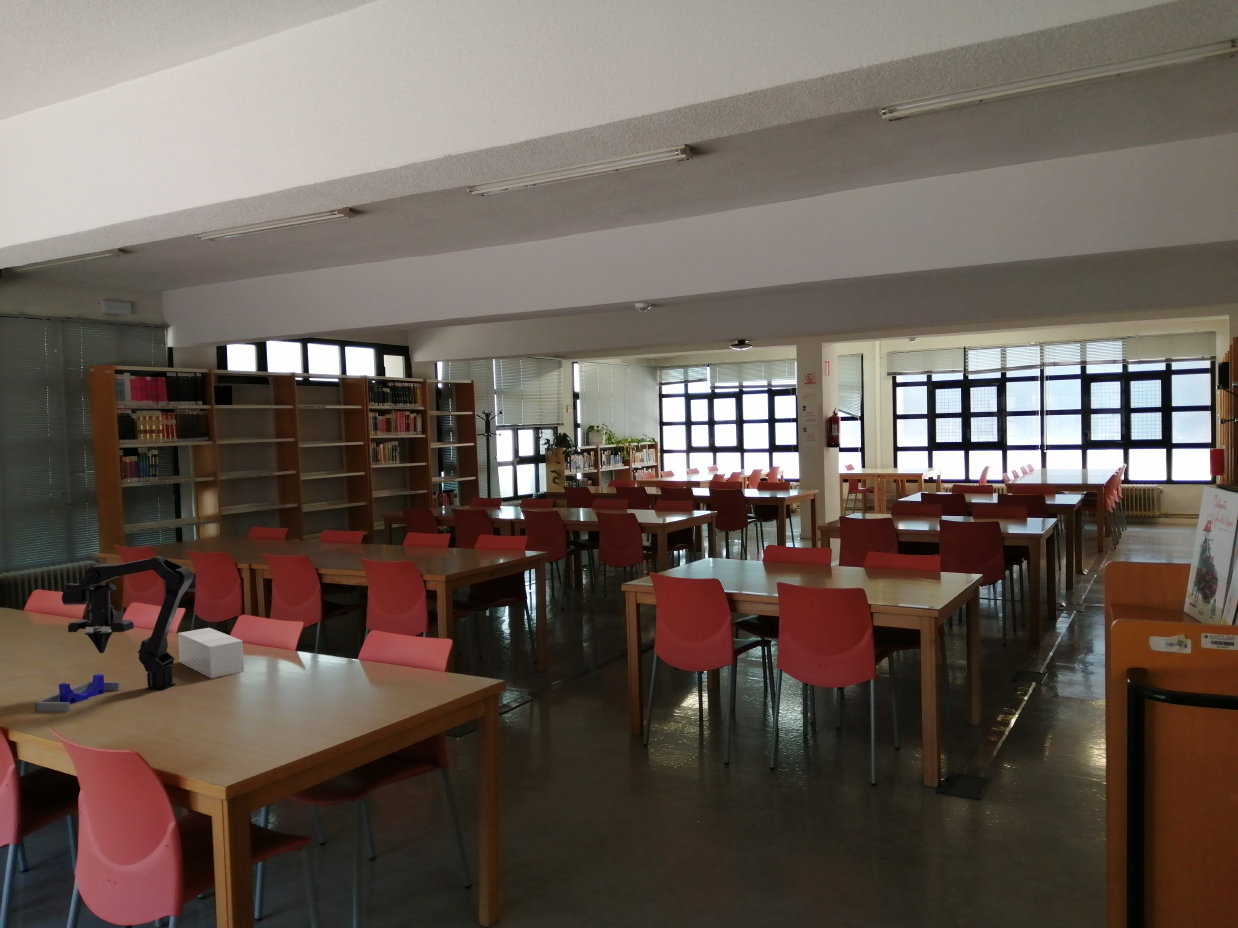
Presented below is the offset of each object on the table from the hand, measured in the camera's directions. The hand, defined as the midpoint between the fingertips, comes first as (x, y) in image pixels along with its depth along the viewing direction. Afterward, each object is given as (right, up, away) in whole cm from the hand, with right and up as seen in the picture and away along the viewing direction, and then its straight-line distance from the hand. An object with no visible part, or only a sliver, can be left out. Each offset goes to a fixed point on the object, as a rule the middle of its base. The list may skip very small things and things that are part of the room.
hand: (101, 652), depth 279 cm
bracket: (-1, -12, -10) cm, 16 cm away
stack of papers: (+23, -11, +26) cm, 36 cm away
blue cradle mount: (-1, -13, -8) cm, 15 cm away
